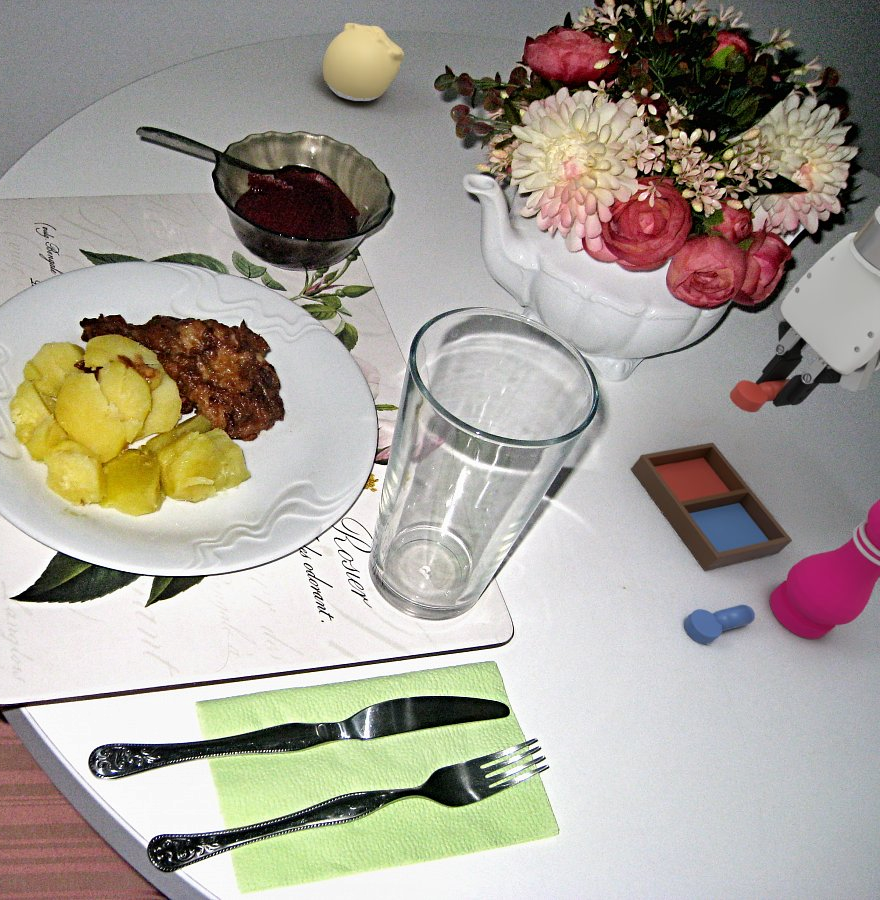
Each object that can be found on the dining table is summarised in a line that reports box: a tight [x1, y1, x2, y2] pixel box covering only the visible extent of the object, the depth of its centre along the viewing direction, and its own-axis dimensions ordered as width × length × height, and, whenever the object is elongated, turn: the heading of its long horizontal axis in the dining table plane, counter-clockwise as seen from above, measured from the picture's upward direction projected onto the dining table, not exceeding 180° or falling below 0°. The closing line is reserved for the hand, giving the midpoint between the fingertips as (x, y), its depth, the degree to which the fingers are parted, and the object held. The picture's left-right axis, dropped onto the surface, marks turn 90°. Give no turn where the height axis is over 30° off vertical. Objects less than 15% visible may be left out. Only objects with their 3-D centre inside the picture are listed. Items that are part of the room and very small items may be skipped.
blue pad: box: [689, 503, 769, 553], centre depth 98 cm, size 9×6×1 cm, turn 109°
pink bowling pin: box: [769, 498, 880, 640], centre depth 86 cm, size 7×7×20 cm
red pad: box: [655, 458, 748, 513], centre depth 102 cm, size 10×7×2 cm
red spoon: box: [729, 378, 791, 413], centre depth 91 cm, size 8×3×2 cm, turn 109°
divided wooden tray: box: [630, 442, 793, 572], centre depth 100 cm, size 11×14×2 cm
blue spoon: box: [683, 604, 756, 645], centre depth 90 cm, size 8×3×2 cm, turn 109°
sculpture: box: [322, 22, 405, 99], centre depth 146 cm, size 12×12×11 cm
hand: (776, 393), depth 92 cm, fingers closed on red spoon, 2 cm apart
